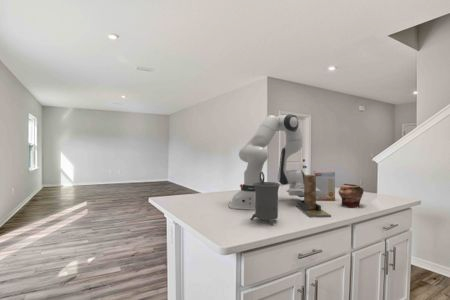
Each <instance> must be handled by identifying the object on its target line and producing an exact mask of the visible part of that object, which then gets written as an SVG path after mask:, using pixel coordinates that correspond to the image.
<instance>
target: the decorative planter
mask: <svg viewBox="0 0 450 300" xmlns="http://www.w3.org/2000/svg"><path fill="white" fill-rule="evenodd" d="M338 194H339V196H340V198H341V205H342V206H344V207H348V208H358V207H360V204H361V200H362V198H363V194H364V188H362V187H361V185H359V184H358V185H357V184H349V183H343V184H342V185H341V186H340V189H339V190H338Z"/></svg>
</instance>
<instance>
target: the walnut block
mask: <svg viewBox="0 0 450 300" xmlns="http://www.w3.org/2000/svg"><path fill="white" fill-rule="evenodd" d="M303 200H304V203H305V204H307V205H308V206H309V209H316V203H317V202H316V201H317V200H316V176H314V175H313V174H305V175H304V197H303Z"/></svg>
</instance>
